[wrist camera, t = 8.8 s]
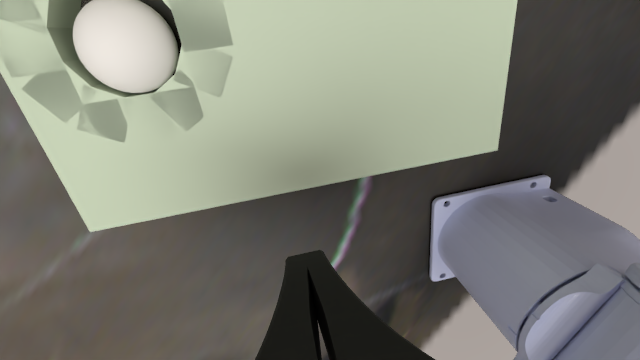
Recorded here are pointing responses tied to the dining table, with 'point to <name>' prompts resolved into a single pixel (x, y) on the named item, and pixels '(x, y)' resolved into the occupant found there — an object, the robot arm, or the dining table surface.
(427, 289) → the dining table surface
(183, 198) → the putting deck
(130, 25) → the ball
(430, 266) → the robot arm
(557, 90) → the dining table surface
